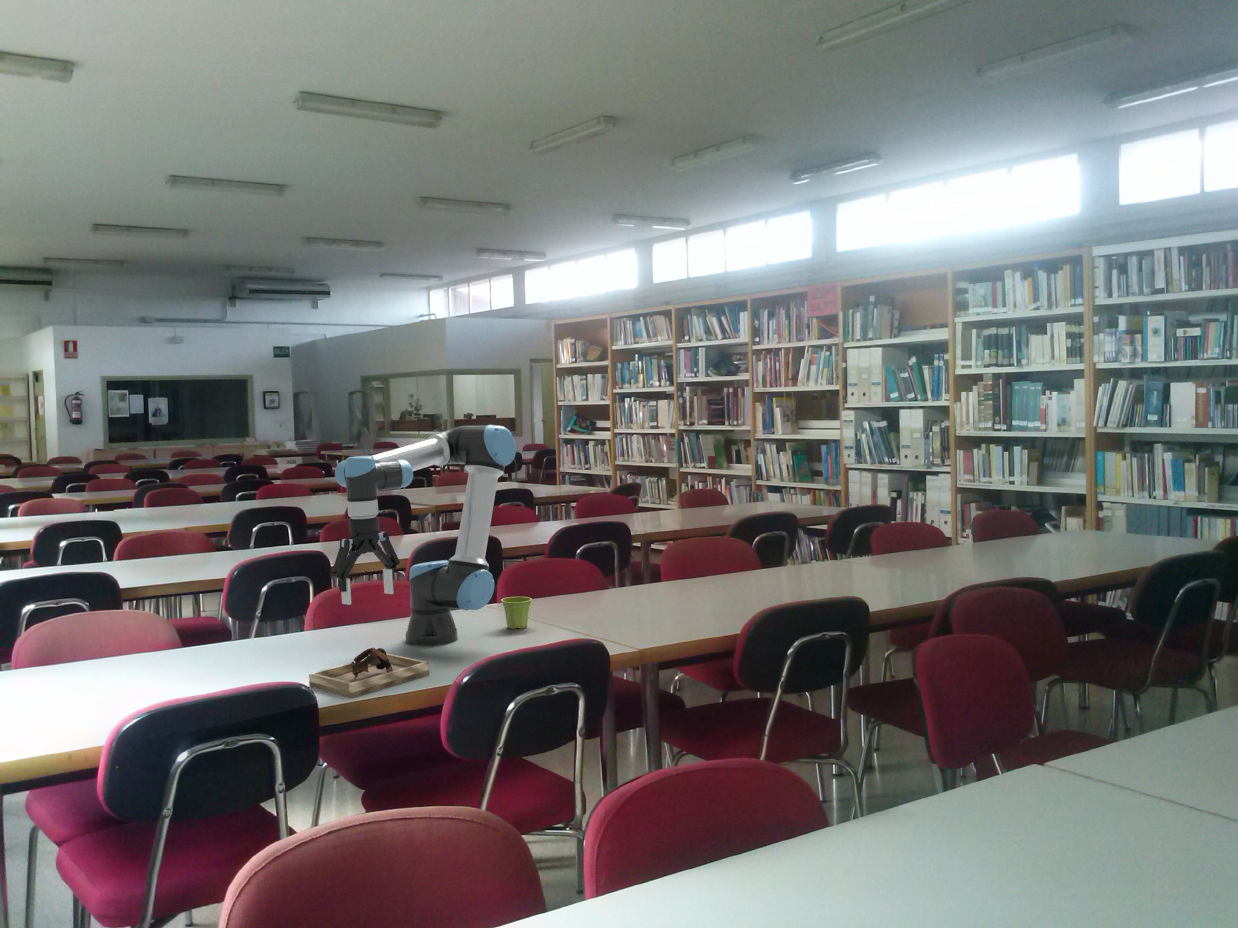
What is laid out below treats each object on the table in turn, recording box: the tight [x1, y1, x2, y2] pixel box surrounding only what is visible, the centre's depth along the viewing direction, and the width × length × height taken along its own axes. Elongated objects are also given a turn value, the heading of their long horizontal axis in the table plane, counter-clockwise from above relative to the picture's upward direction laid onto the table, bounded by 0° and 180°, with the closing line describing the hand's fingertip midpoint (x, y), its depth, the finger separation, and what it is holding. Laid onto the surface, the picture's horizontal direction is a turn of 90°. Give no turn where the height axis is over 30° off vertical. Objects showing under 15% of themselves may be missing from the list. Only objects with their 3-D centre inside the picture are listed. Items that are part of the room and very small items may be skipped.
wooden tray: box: [308, 652, 430, 698], centre depth 249 cm, size 24×17×3 cm
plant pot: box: [500, 596, 533, 630], centre depth 305 cm, size 9×9×9 cm
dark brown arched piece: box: [350, 647, 393, 677], centre depth 248 cm, size 12×10×8 cm
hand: (368, 598), depth 253 cm, fingers open, 13 cm apart
